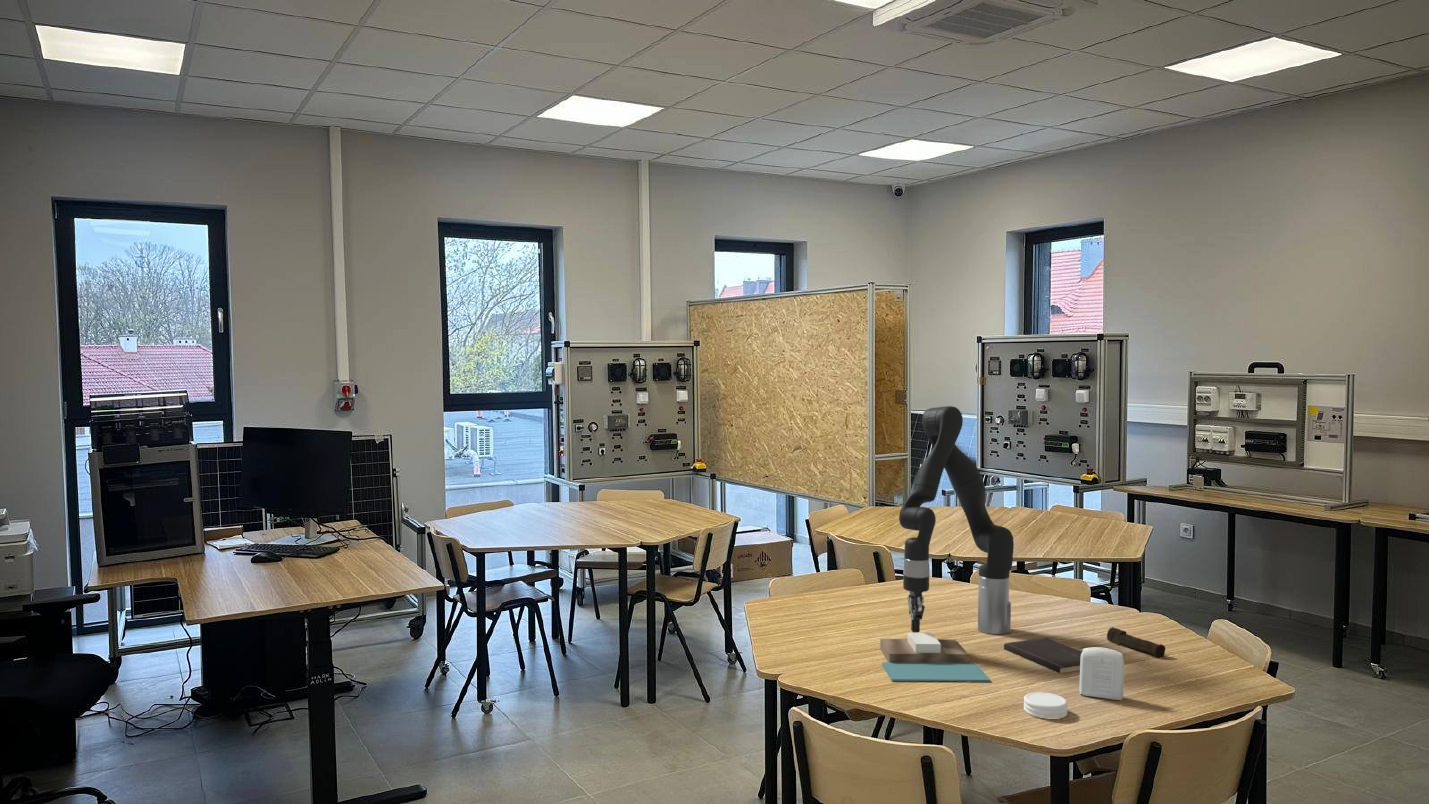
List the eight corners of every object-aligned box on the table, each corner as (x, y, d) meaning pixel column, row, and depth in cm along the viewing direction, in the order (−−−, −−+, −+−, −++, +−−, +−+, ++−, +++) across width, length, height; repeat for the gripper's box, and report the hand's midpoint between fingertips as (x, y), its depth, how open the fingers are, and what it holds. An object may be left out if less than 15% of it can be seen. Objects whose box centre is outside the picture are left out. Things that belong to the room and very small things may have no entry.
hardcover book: (1046, 645, 280) (1046, 637, 280) (1104, 668, 259) (1105, 660, 259) (1003, 651, 274) (1003, 643, 274) (1059, 675, 253) (1059, 667, 253)
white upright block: (1122, 696, 236) (1124, 648, 235) (1123, 702, 232) (1124, 652, 231) (1079, 690, 240) (1080, 643, 239) (1079, 696, 236) (1080, 648, 235)
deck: (955, 649, 274) (955, 639, 274) (968, 664, 260) (968, 654, 260) (880, 649, 274) (880, 638, 273) (889, 664, 260) (889, 653, 260)
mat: (975, 665, 260) (975, 662, 260) (990, 682, 246) (990, 679, 246) (882, 664, 260) (882, 662, 260) (891, 681, 246) (891, 679, 246)
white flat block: (931, 641, 272) (931, 632, 271) (940, 653, 261) (940, 644, 260) (907, 641, 272) (907, 632, 271) (915, 652, 261) (915, 644, 260)
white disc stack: (1066, 723, 218) (1067, 708, 218) (1022, 717, 222) (1022, 702, 222) (1067, 708, 227) (1068, 694, 227) (1024, 703, 231) (1025, 689, 231)
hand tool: (1166, 657, 268) (1166, 641, 268) (1156, 659, 266) (1156, 643, 266) (1113, 640, 285) (1114, 625, 285) (1104, 641, 284) (1104, 626, 284)
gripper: (934, 579, 269) (933, 638, 270) (924, 569, 282) (923, 625, 283) (908, 578, 269) (907, 638, 270) (899, 568, 282) (898, 625, 283)
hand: (915, 631), depth 276 cm, fingers closed
